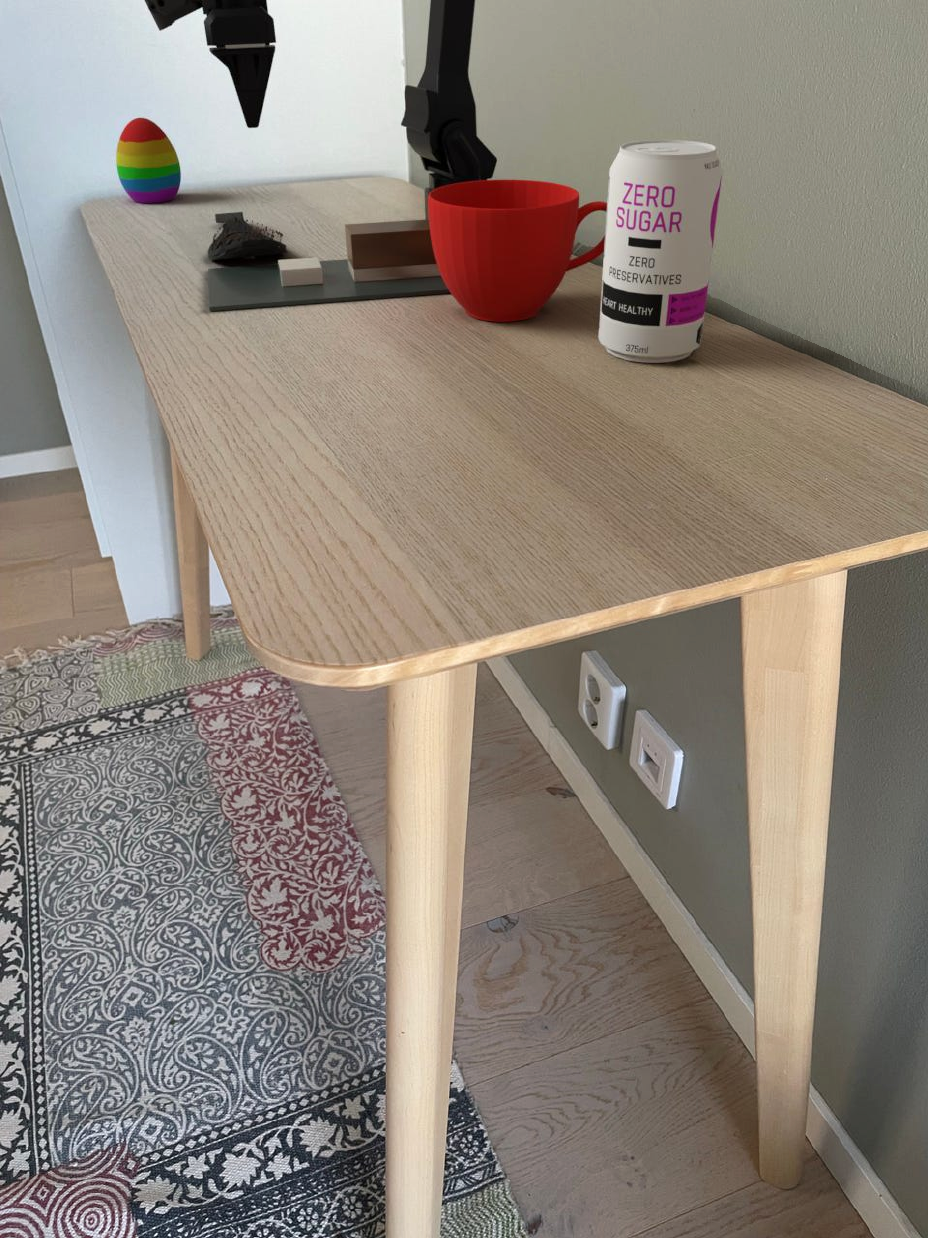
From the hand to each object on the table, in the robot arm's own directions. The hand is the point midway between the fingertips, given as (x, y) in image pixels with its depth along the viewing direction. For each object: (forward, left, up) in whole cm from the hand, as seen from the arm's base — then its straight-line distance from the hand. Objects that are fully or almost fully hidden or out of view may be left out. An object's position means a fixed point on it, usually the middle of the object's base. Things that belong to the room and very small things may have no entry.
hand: (251, 121), depth 99 cm
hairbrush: (+3, -5, -13) cm, 15 cm away
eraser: (-13, +13, -13) cm, 22 cm away
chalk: (-3, +13, -13) cm, 18 cm away
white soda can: (-29, +40, -13) cm, 51 cm away
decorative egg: (+13, -35, -13) cm, 40 cm away
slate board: (-6, +13, -13) cm, 19 cm away
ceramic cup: (-22, +27, -13) cm, 37 cm away
